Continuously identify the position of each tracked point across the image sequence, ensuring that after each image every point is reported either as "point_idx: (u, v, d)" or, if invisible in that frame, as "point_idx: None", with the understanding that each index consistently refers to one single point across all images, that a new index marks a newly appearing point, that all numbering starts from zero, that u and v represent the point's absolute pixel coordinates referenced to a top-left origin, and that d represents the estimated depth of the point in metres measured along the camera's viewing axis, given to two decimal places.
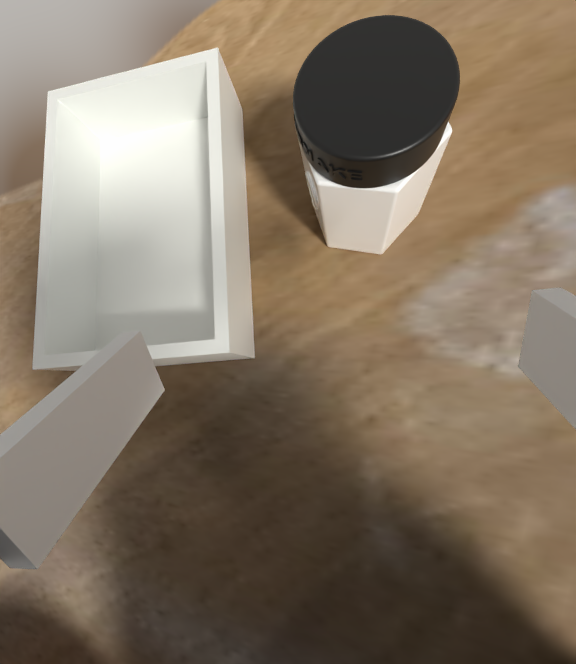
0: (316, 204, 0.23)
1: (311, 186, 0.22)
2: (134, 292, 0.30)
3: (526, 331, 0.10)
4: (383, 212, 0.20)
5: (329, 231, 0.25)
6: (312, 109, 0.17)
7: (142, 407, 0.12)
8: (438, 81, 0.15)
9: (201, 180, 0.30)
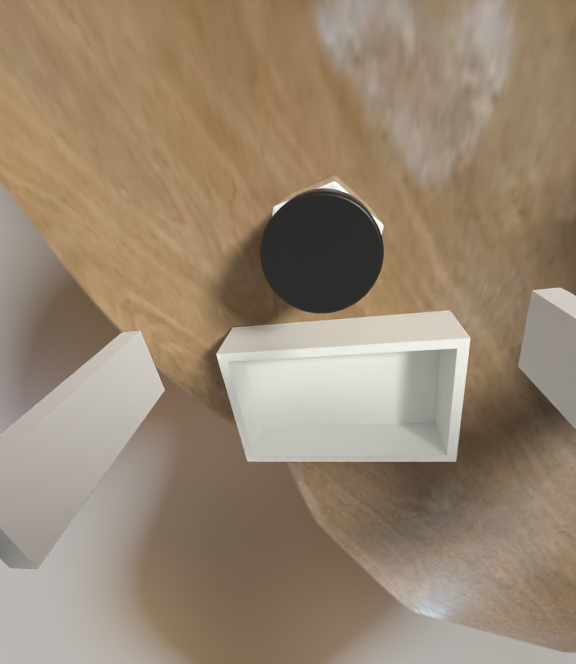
0: None
1: None
2: (386, 399, 0.39)
3: (526, 331, 0.10)
4: None
5: None
6: (334, 300, 0.23)
7: (142, 407, 0.12)
8: (325, 209, 0.20)
9: None
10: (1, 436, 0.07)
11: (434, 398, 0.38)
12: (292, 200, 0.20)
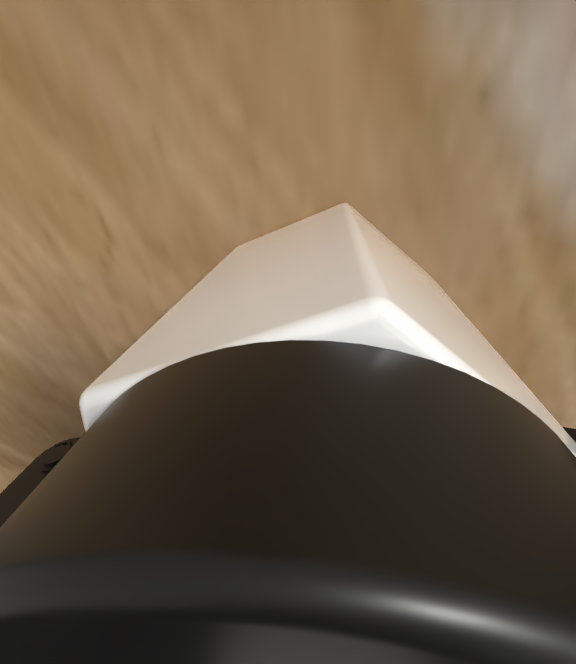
0: None
1: None
2: None
3: None
4: None
5: None
6: None
7: None
8: None
9: None
10: None
11: None
12: (1, 594, 0.02)
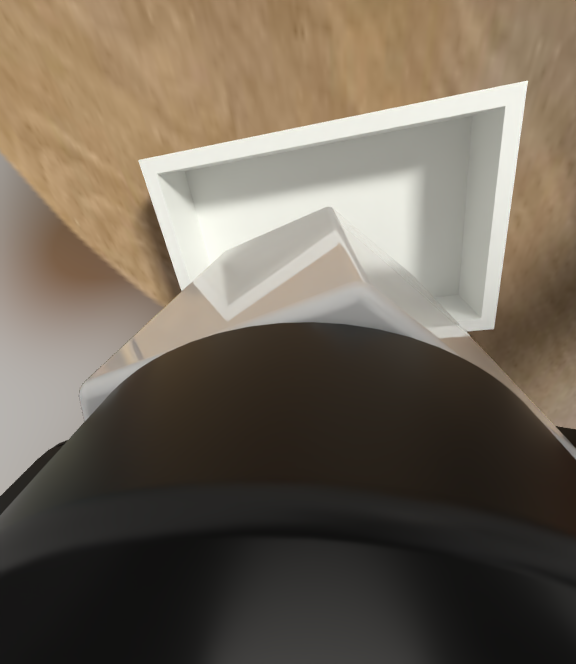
0: None
1: None
2: None
3: None
4: None
5: None
6: None
7: None
8: (331, 612, 0.02)
9: (266, 195, 0.27)
10: None
11: (458, 253, 0.28)
12: (27, 538, 0.02)
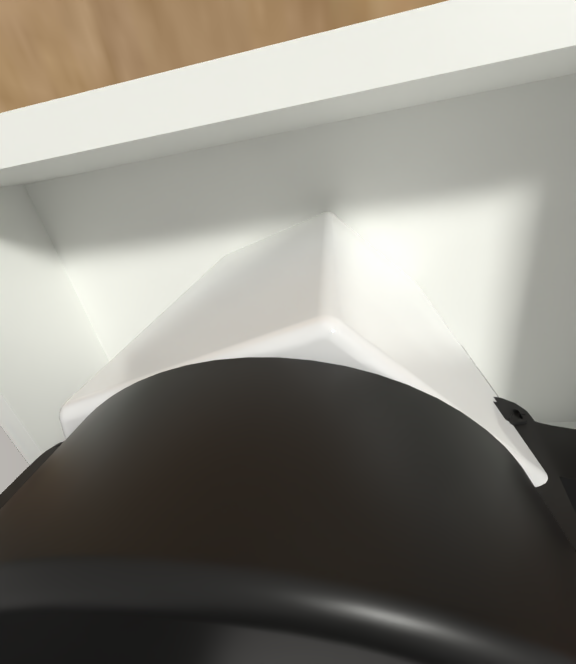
0: None
1: None
2: None
3: None
4: None
5: None
6: None
7: None
8: None
9: (196, 236, 0.13)
10: None
11: None
12: None
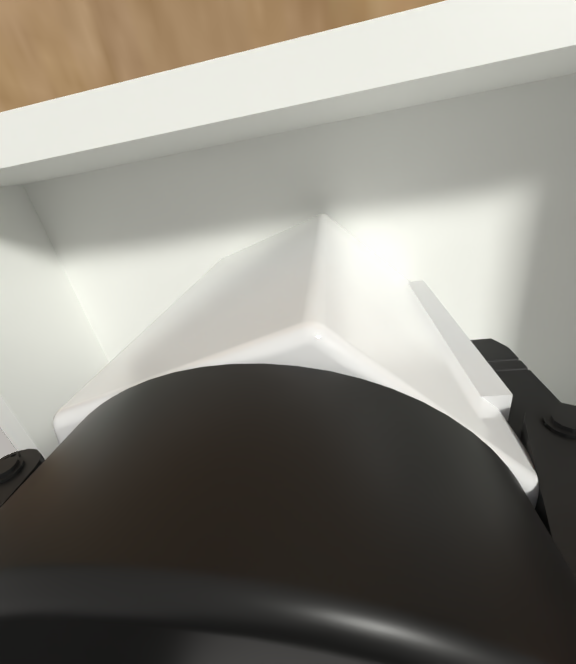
0: None
1: None
2: None
3: None
4: None
5: None
6: None
7: None
8: None
9: (195, 236, 0.13)
10: None
11: None
12: None
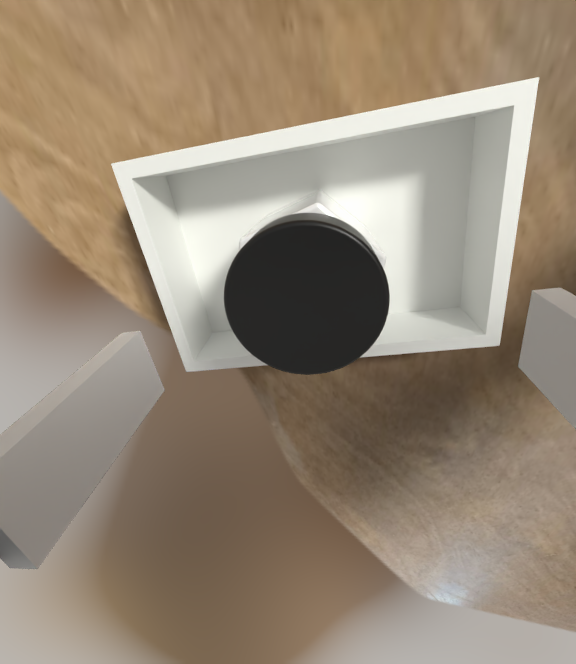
0: None
1: None
2: (388, 271, 0.27)
3: (526, 331, 0.10)
4: None
5: None
6: (327, 358, 0.17)
7: (142, 407, 0.12)
8: (307, 244, 0.14)
9: (254, 202, 0.25)
10: (1, 436, 0.07)
11: (460, 263, 0.26)
12: (260, 234, 0.14)
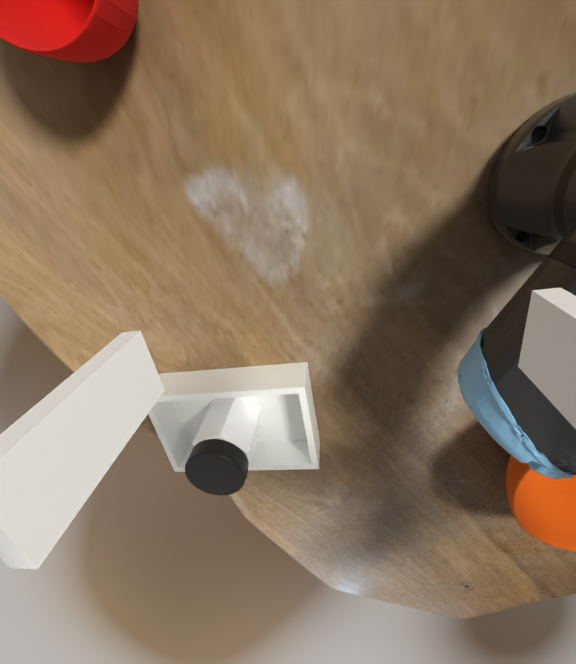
0: None
1: None
2: (275, 423, 0.53)
3: (526, 331, 0.10)
4: (252, 441, 0.46)
5: None
6: (225, 491, 0.44)
7: (142, 407, 0.12)
8: (212, 459, 0.41)
9: None
10: (1, 436, 0.07)
11: None
12: (196, 455, 0.41)
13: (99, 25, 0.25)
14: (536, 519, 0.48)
